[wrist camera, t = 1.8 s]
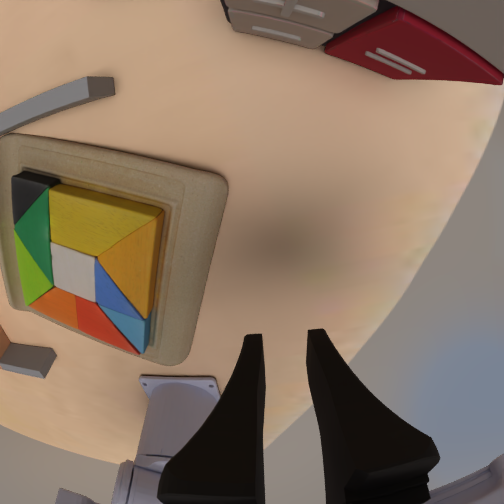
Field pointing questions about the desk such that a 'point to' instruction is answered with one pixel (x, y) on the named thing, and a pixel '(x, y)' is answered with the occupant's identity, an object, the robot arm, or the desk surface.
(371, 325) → the desk surface
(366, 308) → the desk surface
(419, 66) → the grey and red box
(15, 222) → the wooden puzzle
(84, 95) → the bay
